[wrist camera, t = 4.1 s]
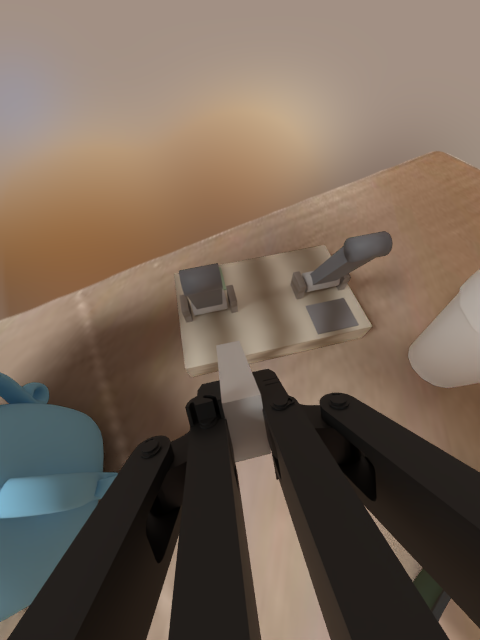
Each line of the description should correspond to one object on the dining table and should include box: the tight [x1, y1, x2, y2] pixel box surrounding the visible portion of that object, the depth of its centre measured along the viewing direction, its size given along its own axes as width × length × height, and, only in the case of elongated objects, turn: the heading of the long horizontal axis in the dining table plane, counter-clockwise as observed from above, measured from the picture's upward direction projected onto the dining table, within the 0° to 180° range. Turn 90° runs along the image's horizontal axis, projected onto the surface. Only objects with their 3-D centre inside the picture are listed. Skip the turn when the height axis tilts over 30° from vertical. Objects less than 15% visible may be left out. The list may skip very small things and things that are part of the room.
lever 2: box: [301, 231, 392, 292], centre depth 25 cm, size 4×2×12 cm, turn 103°
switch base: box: [174, 245, 372, 377], centre depth 31 cm, size 22×14×5 cm, turn 103°
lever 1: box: [179, 263, 228, 316], centre depth 24 cm, size 4×2×12 cm, turn 103°
